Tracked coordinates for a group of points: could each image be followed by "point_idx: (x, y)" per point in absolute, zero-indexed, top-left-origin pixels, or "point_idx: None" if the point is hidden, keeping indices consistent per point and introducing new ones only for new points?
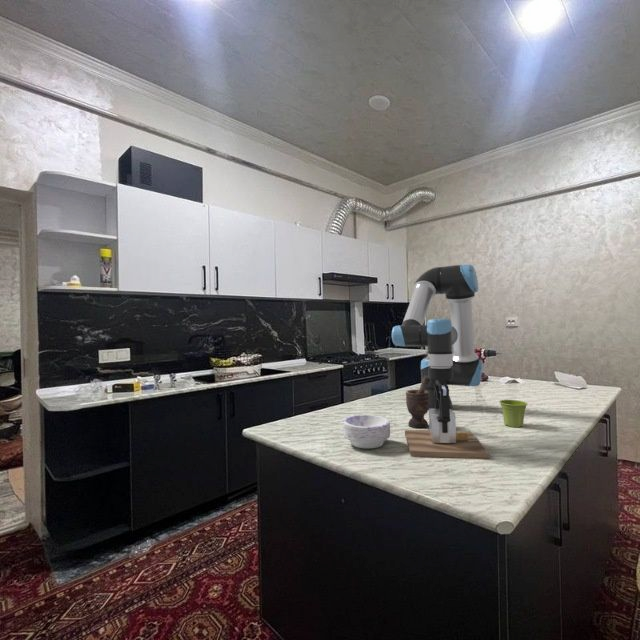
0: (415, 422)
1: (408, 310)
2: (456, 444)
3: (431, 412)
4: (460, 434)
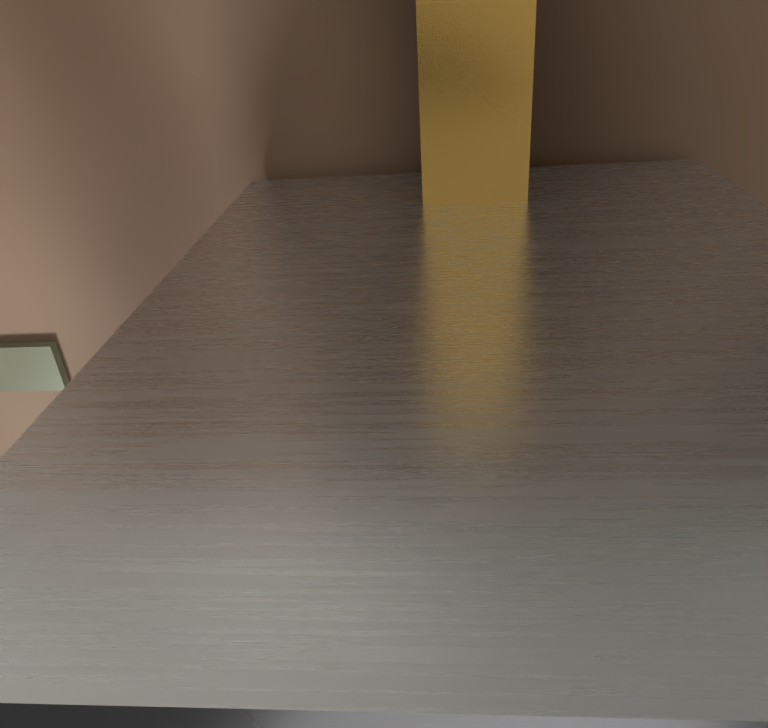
0: None
1: None
2: (712, 151)
3: None
4: (509, 36)
